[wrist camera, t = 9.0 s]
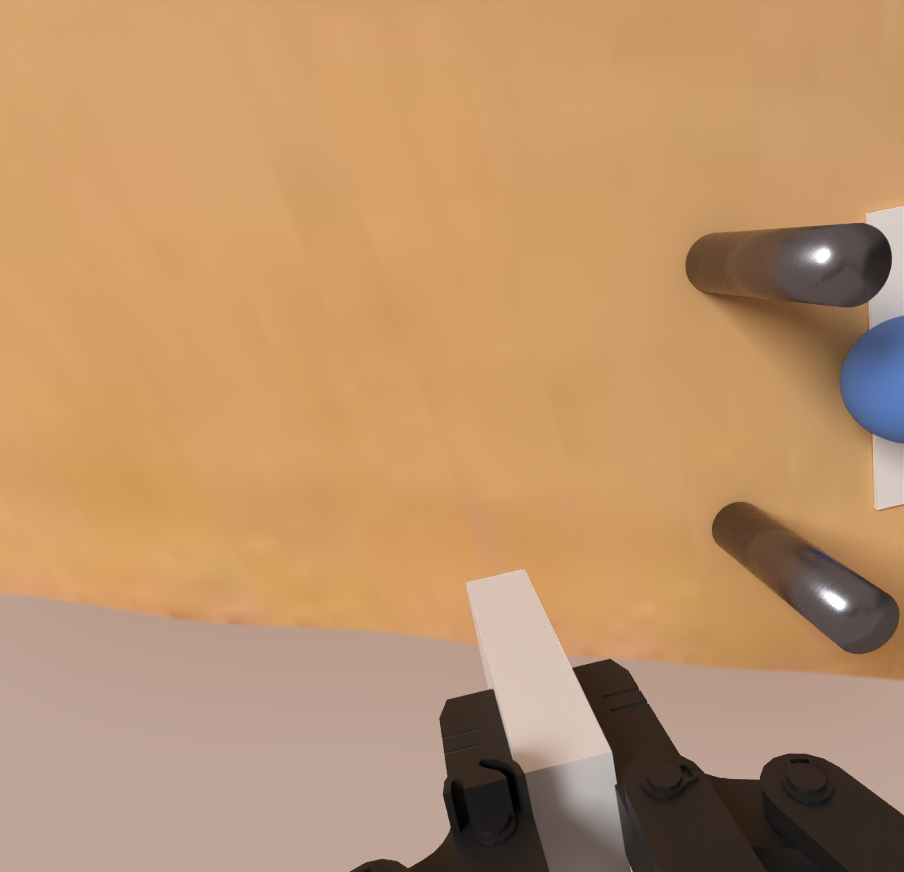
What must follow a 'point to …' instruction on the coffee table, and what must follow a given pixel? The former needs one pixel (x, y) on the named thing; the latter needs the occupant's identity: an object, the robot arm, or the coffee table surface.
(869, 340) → the ball
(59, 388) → the coffee table surface
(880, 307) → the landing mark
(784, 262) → the post
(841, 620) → the post
